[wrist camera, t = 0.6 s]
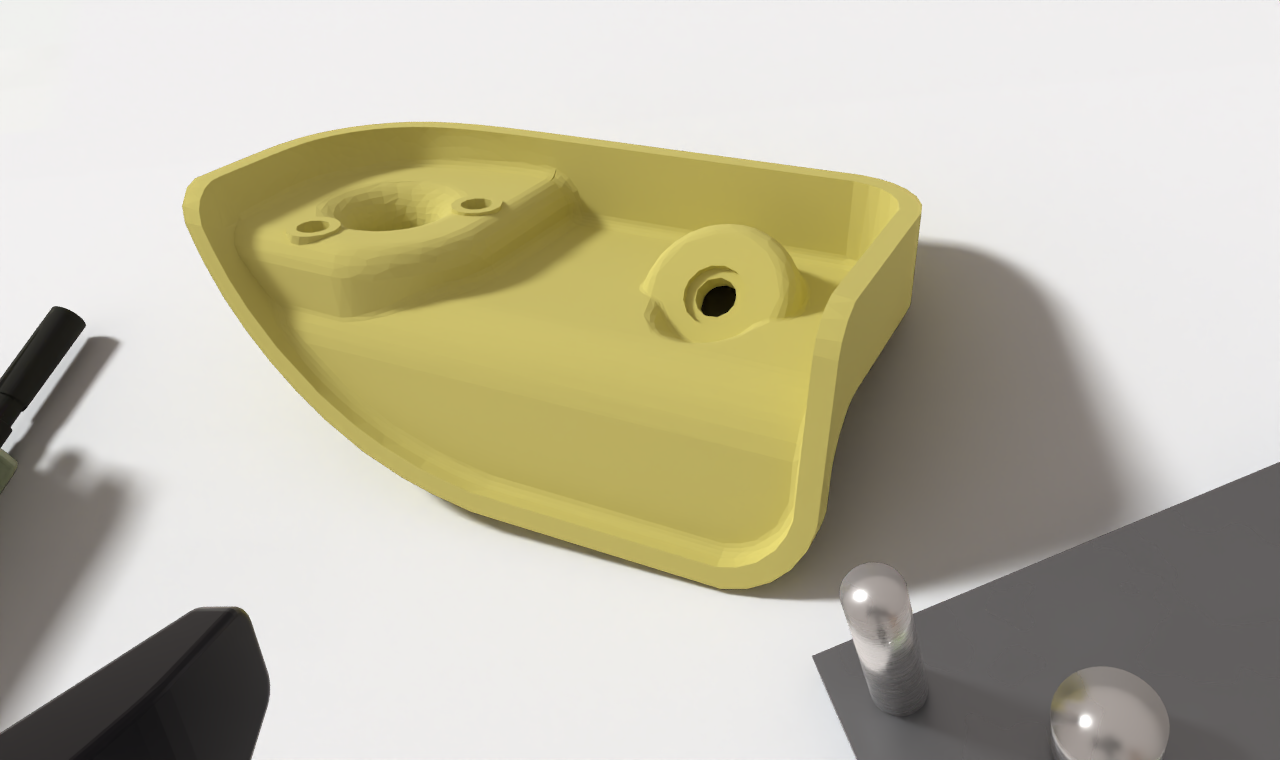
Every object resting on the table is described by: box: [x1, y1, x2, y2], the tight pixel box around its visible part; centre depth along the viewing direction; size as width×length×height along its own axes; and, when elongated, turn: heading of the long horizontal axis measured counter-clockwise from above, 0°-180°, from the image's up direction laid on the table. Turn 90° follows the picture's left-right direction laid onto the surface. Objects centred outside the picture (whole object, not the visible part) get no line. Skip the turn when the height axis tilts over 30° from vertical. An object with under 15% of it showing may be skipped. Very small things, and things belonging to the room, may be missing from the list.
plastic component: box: [182, 122, 922, 589], centre depth 31 cm, size 20×7×10 cm
